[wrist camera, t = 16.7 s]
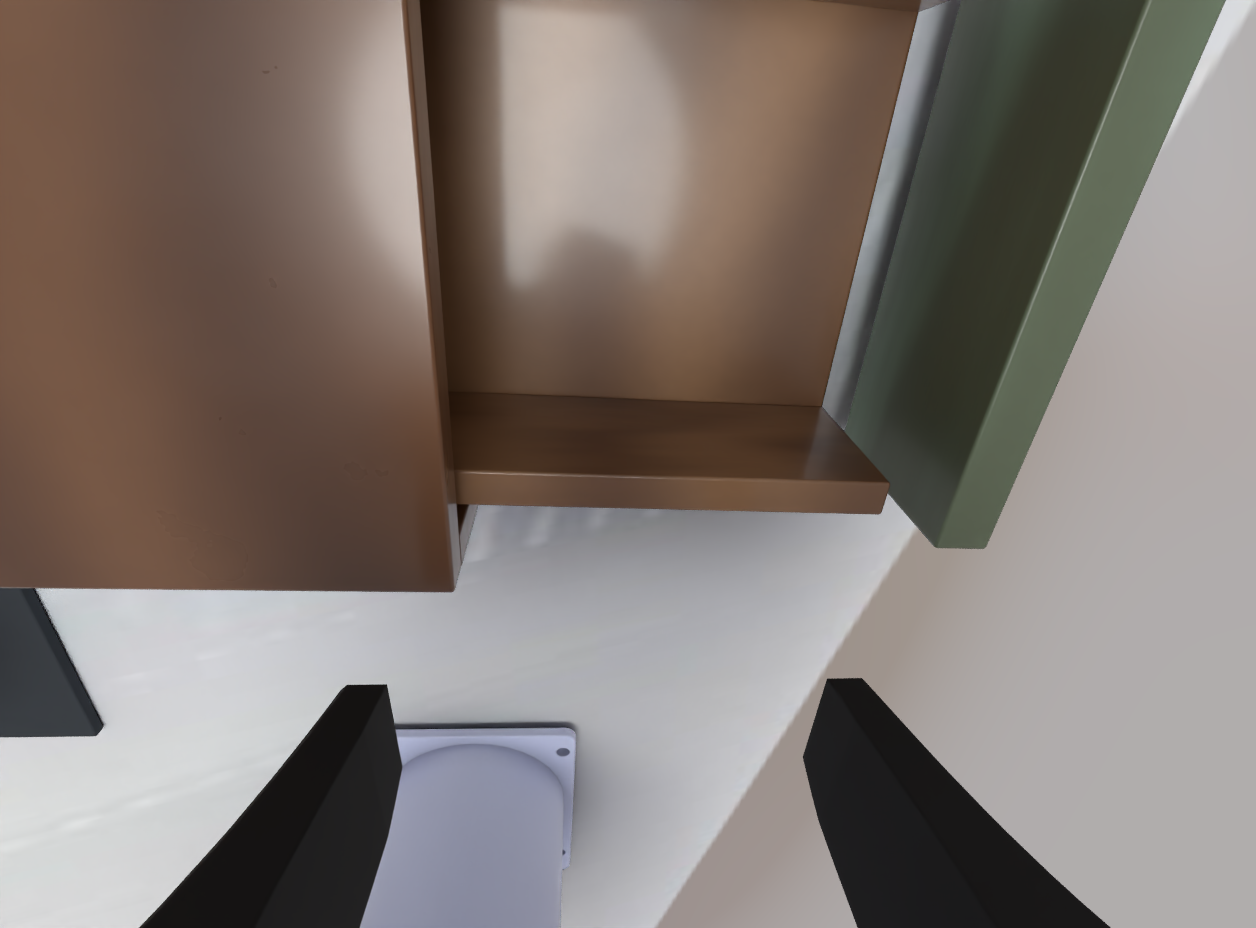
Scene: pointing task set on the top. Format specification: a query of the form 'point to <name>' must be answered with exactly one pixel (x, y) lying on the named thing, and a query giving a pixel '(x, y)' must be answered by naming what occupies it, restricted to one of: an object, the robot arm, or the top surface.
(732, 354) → the drawer
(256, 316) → the cabinet
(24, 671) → the mat
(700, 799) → the top surface
